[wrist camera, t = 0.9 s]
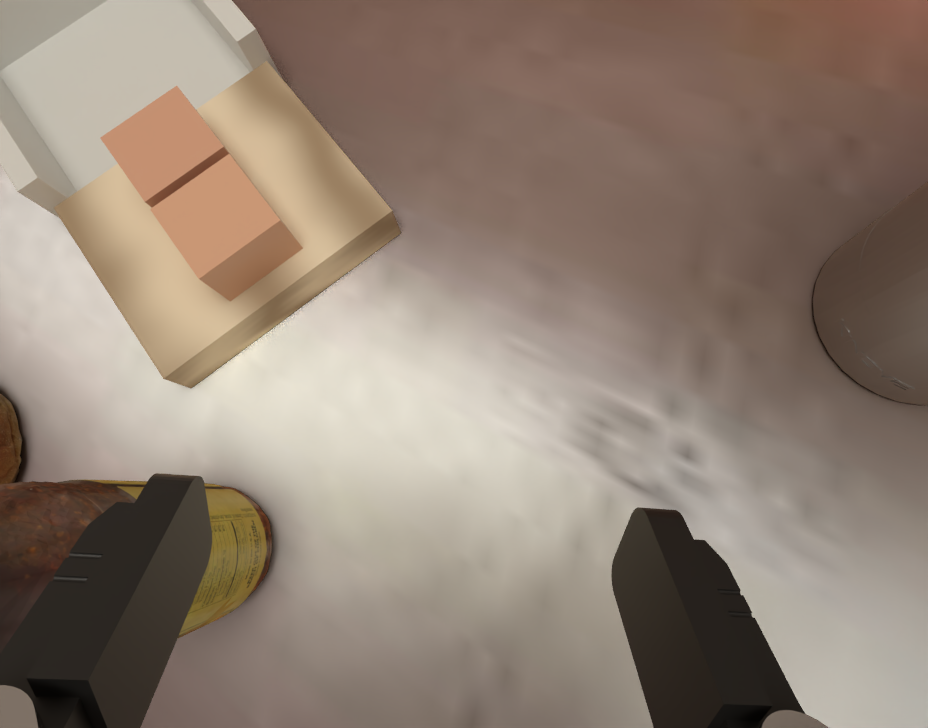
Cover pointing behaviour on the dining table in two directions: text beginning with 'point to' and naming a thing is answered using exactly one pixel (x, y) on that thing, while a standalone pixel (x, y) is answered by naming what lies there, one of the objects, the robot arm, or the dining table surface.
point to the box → (104, 78)
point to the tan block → (226, 229)
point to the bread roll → (9, 442)
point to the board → (285, 189)
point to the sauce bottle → (81, 501)
